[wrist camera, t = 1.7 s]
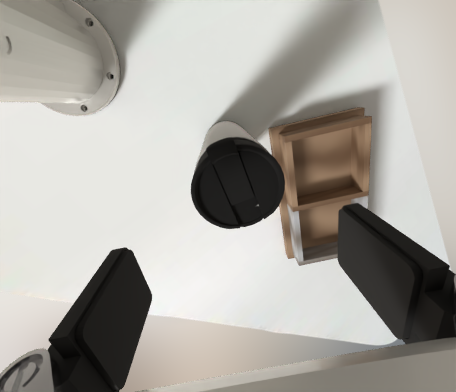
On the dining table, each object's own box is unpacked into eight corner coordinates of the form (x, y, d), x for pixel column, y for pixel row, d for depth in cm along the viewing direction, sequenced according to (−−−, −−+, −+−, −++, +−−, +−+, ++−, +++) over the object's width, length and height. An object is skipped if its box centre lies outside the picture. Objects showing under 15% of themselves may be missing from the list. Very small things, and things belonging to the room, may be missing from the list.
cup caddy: (268, 128, 31) (276, 131, 27) (357, 107, 31) (379, 107, 27) (285, 253, 40) (293, 270, 36) (355, 238, 40) (371, 254, 36)
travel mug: (237, 111, 30) (271, 120, 12) (252, 154, 33) (300, 218, 14) (196, 128, 31) (168, 163, 12) (214, 169, 33) (213, 249, 15)
